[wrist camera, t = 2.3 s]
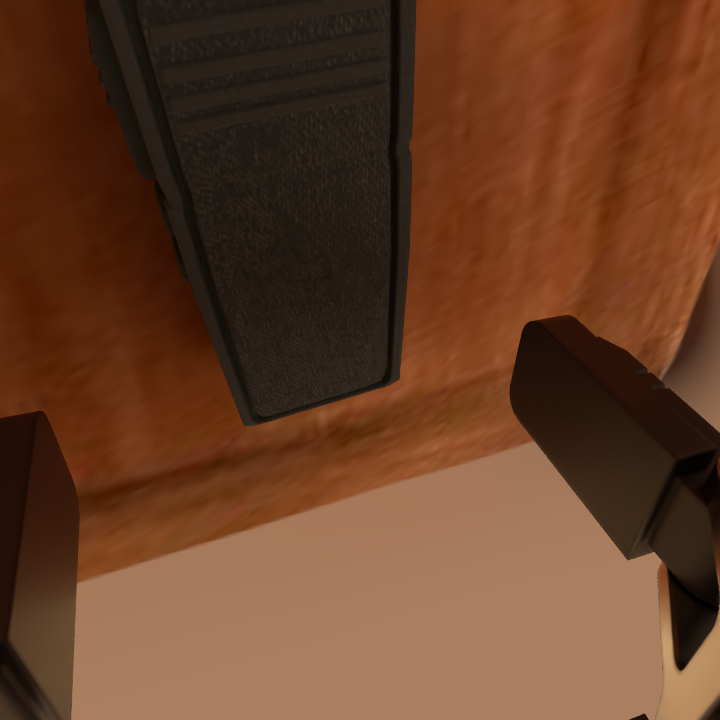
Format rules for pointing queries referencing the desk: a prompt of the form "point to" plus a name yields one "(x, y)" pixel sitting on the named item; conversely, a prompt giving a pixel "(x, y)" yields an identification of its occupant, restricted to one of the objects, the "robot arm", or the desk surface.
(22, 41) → the desk surface
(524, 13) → the desk surface
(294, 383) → the walkie-talkie
